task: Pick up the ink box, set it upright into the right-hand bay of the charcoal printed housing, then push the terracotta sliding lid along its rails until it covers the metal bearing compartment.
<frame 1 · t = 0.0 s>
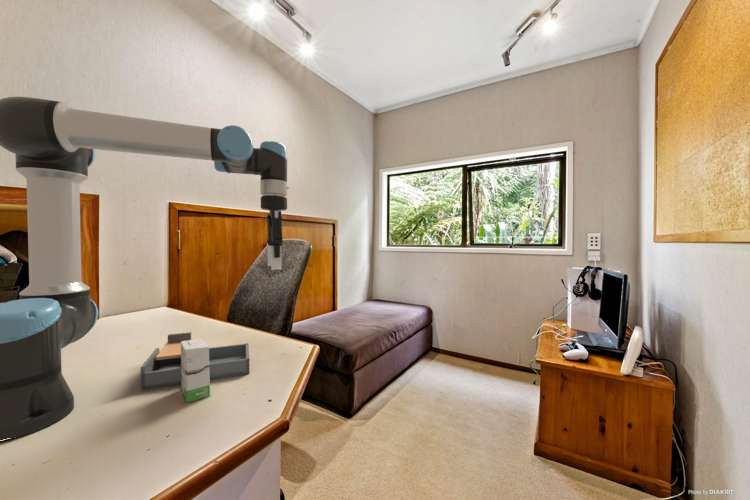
hand: (274, 267, 91), 28 cm above the table, fingers open, 13 cm apart
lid: (175, 344, 88), point 6 cm above the table, slide at 8.0 cm
ink box: (195, 393, 72), on the table
housing: (201, 370, 84), on the table
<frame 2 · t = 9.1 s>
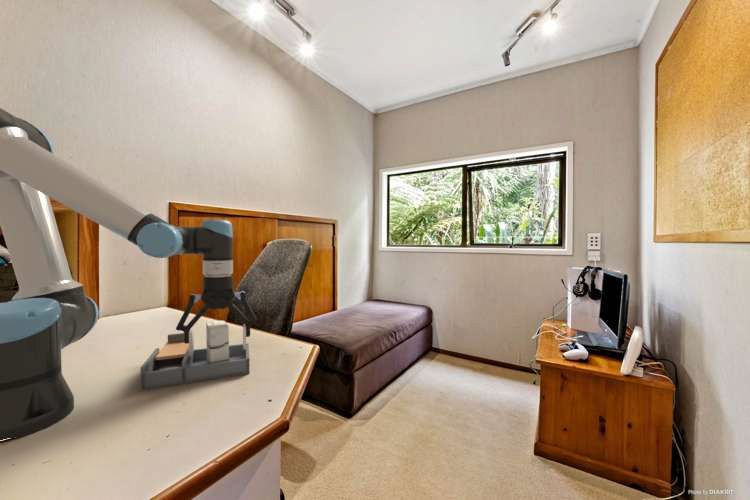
hand: (218, 351, 86), 5 cm above the table, fingers open, 13 cm apart
ink box: (217, 366, 86), point 1 cm above the table, touching housing
everything else where it was.
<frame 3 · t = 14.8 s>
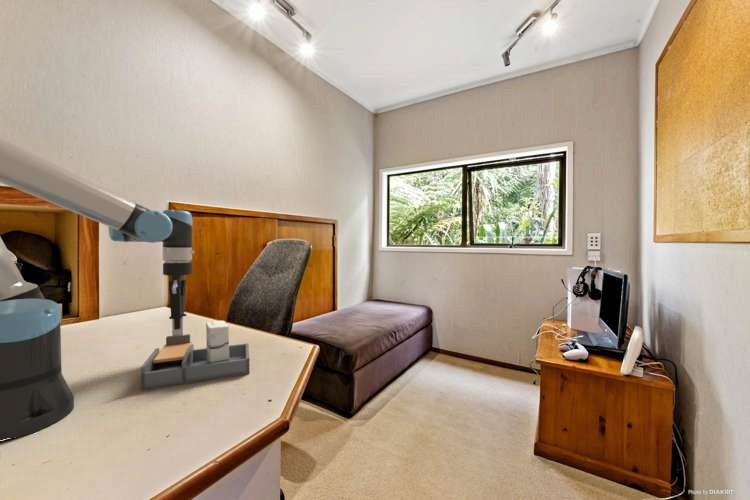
hand: (178, 338, 93), 6 cm above the table, fingers closed
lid: (174, 347, 87), point 6 cm above the table, slide at 5.9 cm, touching gripper
everything else where it was.
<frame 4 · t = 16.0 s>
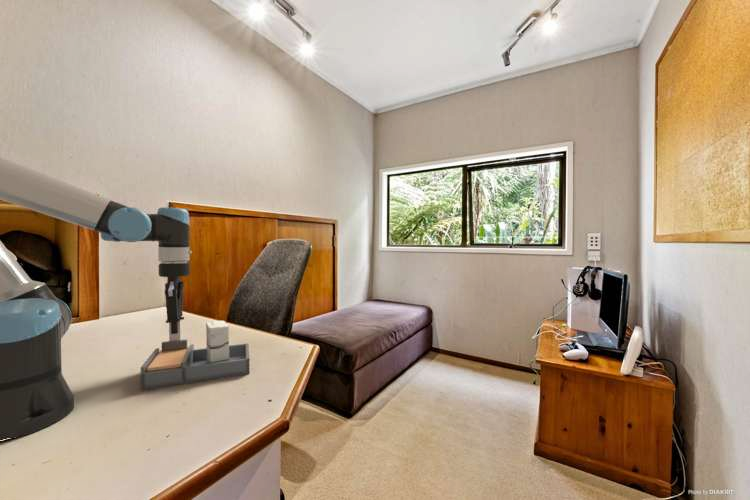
hand: (175, 343, 88), 6 cm above the table, fingers closed
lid: (170, 353, 82), point 6 cm above the table, slide at 0.5 cm, touching gripper
everything else where it was.
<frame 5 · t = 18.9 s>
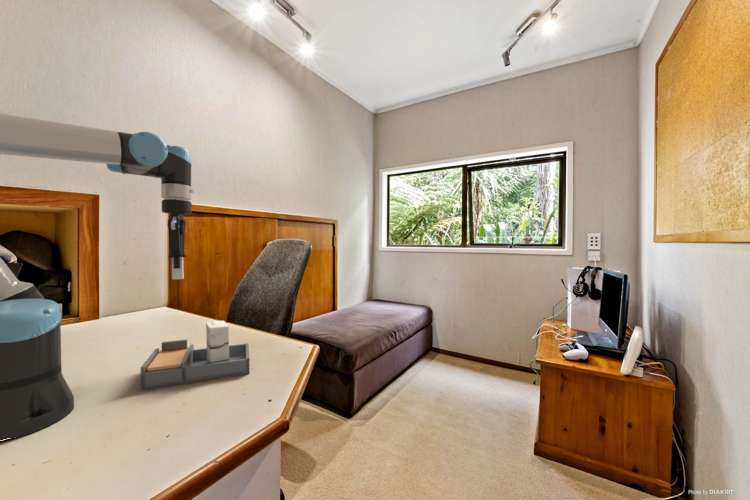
hand: (177, 279, 92), 24 cm above the table, fingers closed
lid: (170, 353, 82), point 6 cm above the table, slide at 0.5 cm
everything else where it was.
at the end: ink box inside the target area (0.4 cm from its centre), point 0.8 cm above the table; ink box tilted 0°; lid slide at 0.5 cm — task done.
